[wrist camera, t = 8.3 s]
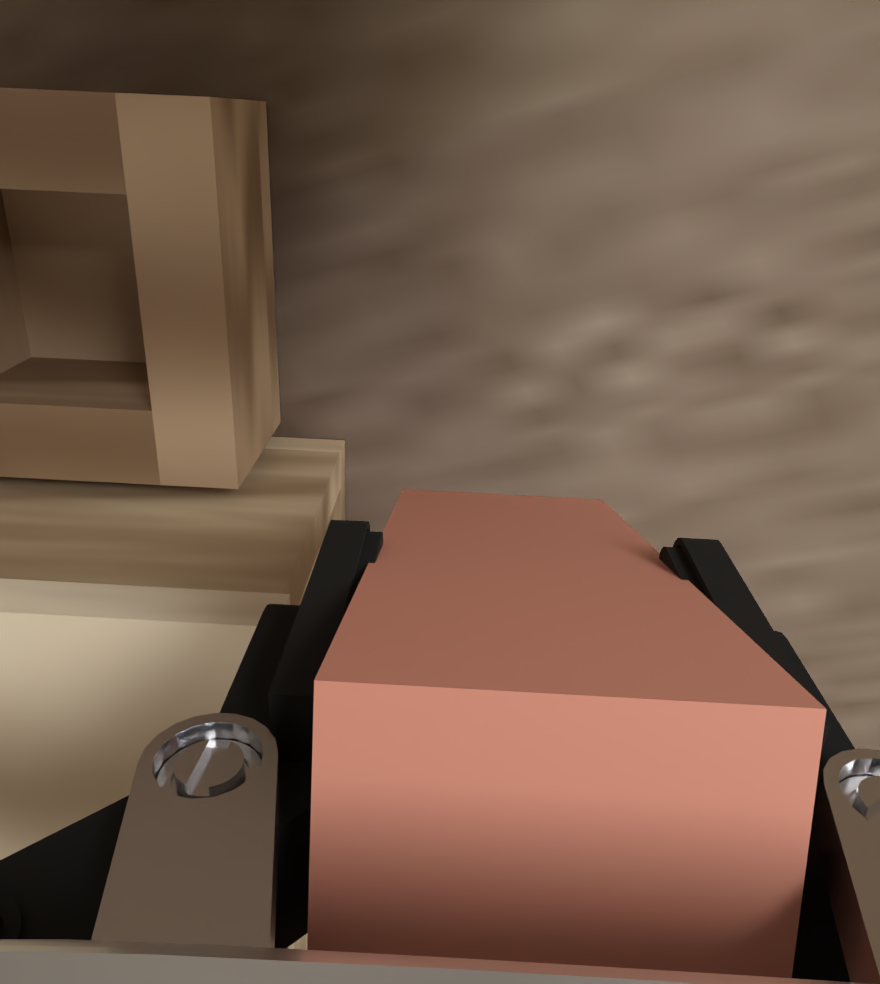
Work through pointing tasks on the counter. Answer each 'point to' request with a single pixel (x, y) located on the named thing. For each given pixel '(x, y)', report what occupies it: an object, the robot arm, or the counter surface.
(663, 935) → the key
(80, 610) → the lid
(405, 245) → the counter surface
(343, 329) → the counter surface
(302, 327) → the counter surface
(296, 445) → the wooden box
